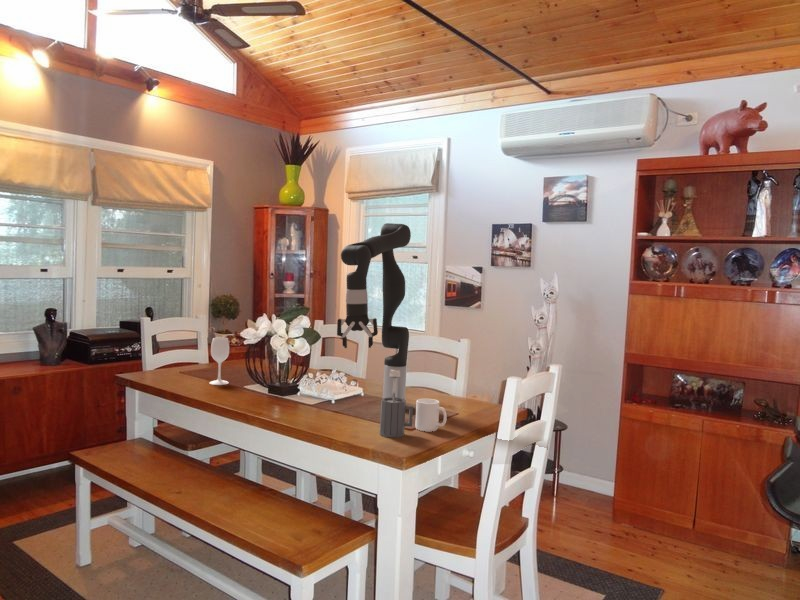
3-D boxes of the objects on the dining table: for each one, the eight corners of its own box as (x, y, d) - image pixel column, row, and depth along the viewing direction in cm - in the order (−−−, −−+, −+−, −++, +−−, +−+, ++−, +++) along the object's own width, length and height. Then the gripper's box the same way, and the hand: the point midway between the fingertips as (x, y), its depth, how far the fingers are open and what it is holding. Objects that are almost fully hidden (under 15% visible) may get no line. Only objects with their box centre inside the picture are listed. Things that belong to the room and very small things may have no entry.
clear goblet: (384, 402, 204) (386, 368, 204) (400, 402, 205) (401, 368, 204) (386, 405, 199) (388, 371, 198) (402, 406, 200) (403, 371, 199)
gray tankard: (378, 430, 206) (380, 397, 206) (409, 430, 208) (411, 397, 207) (381, 437, 198) (382, 402, 197) (413, 437, 200) (415, 403, 199)
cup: (422, 424, 218) (423, 397, 217) (451, 430, 211) (452, 402, 211) (410, 428, 211) (412, 401, 210) (440, 435, 204) (441, 406, 204)
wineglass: (208, 385, 266) (209, 339, 265) (209, 381, 274) (211, 336, 273) (228, 385, 268) (229, 339, 267) (229, 381, 276) (230, 337, 275)
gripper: (377, 301, 211) (378, 345, 212) (338, 301, 211) (338, 346, 212) (376, 302, 203) (377, 349, 204) (335, 303, 203) (336, 349, 204)
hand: (357, 347), depth 208 cm, fingers open, 8 cm apart
